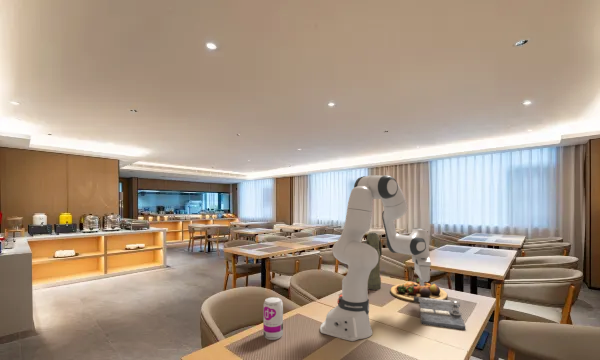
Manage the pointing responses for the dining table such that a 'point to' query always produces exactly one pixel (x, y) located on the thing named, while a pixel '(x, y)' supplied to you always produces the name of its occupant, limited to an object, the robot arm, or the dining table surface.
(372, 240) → the dark olive tall piece
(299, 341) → the dining table surface
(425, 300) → the swing bar
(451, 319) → the board
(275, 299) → the supplement can
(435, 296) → the wooden plate with food
